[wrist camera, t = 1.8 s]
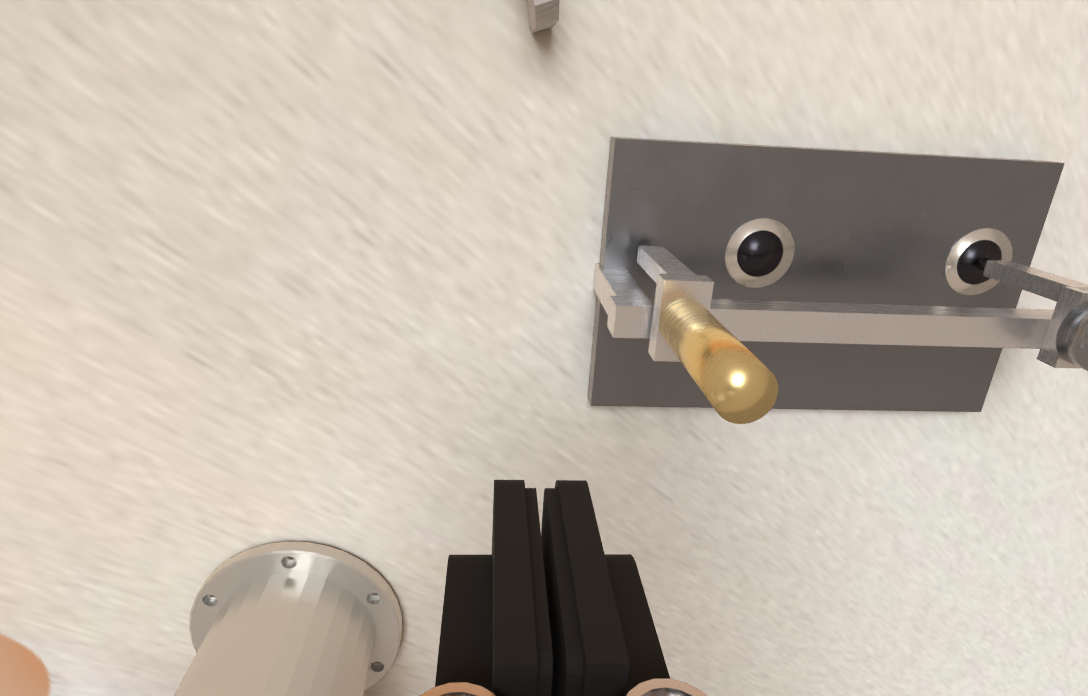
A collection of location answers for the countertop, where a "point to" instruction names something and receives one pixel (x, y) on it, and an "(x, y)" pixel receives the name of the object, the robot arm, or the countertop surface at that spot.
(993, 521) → the countertop surface
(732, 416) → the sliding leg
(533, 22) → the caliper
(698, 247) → the hole plate
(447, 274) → the countertop surface
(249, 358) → the countertop surface
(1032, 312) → the divider frame
